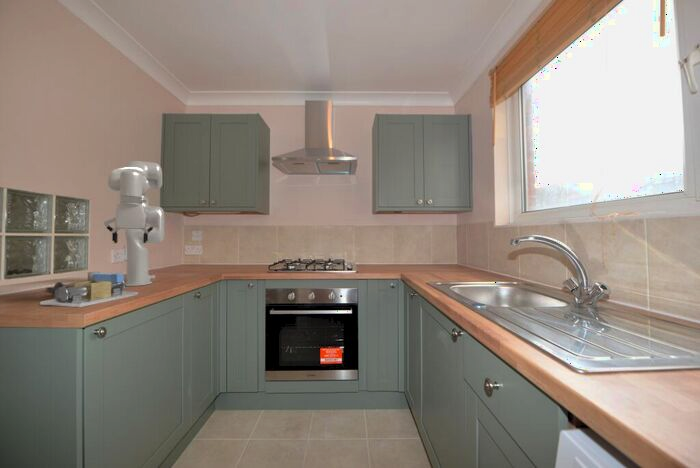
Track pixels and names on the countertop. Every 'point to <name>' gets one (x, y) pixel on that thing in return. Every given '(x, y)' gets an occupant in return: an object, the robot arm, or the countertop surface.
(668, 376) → the countertop surface
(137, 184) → the robot arm
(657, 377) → the countertop surface
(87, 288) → the pipe valve
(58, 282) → the valve
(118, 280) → the lever
